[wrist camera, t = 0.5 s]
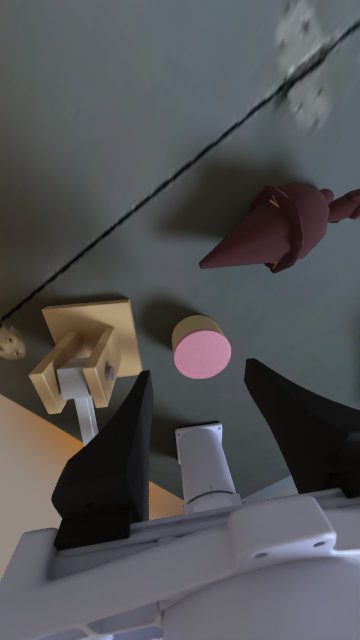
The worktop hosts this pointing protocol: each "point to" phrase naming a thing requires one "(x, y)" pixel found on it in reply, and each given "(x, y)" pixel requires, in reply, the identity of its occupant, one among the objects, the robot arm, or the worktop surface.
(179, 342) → the cake
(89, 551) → the robot arm
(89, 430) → the lever with ball knob
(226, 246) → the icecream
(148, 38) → the worktop surface
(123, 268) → the worktop surface
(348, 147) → the worktop surface
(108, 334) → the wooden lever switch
